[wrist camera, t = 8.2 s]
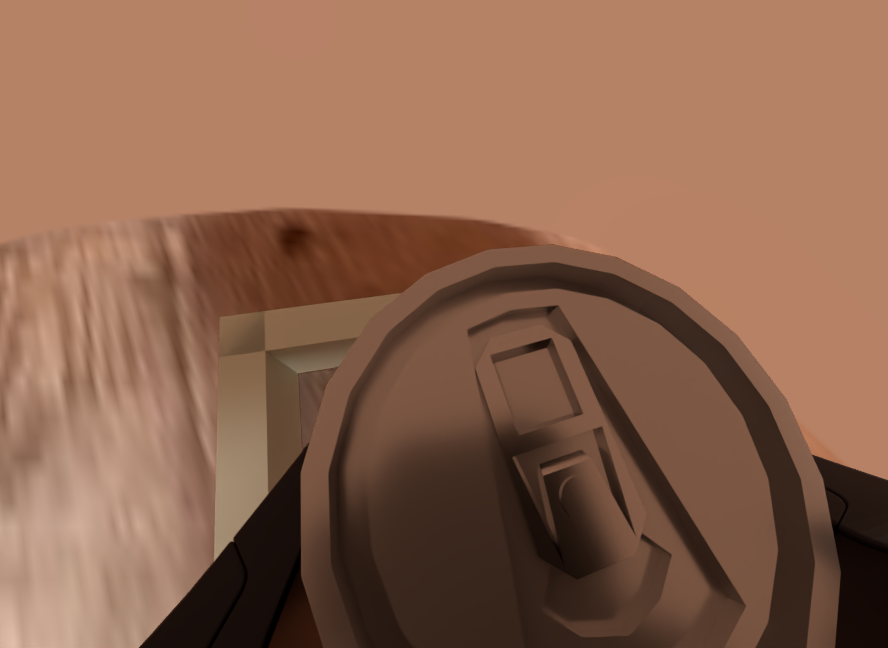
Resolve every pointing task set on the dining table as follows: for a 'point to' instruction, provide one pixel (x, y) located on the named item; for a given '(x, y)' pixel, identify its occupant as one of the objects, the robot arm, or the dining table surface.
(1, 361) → the dining table surface
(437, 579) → the guarana soda can
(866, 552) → the robot arm
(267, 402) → the beige u-shaped bracket
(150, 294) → the dining table surface
